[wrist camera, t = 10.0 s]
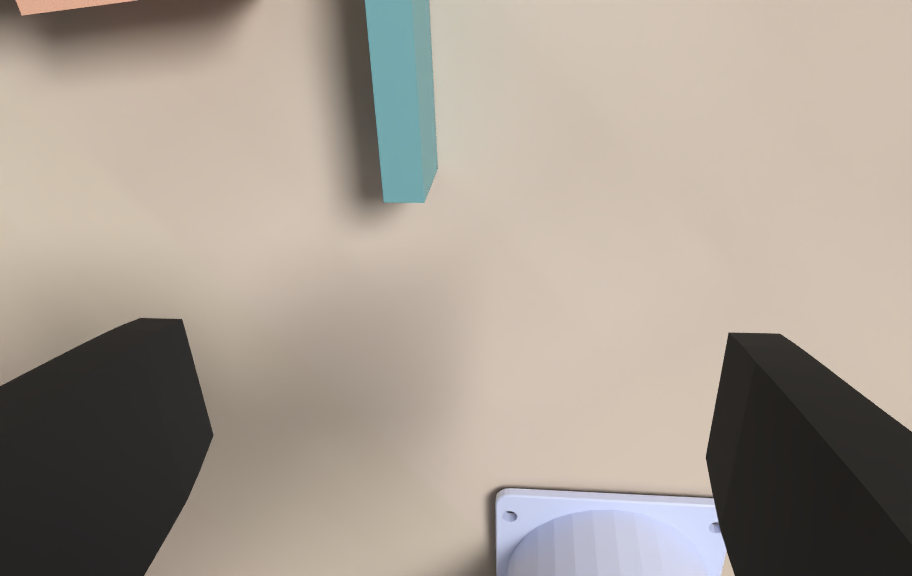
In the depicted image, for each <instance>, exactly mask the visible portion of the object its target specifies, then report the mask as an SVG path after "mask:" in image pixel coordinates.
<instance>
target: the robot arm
mask: <svg viewBox="0 0 912 576" xmlns="http://www.w3.org/2000/svg"><path fill="white" fill-rule="evenodd" d="M212 438H213V432H212V428H211V424H210V421H209V417H208V413H207V410H206V406H205V402H204V398H203V395H202V391H201V387H200V384H199V380H198V376H197V373H196V369H195V365H194V361H193V358H192V354H191V350H190V347H189V343H188V339H187V335H186V332H185V328H184V324H183V321H182V319H155V318H139V319H137V320H134V321H132V322H129V323H127V324H124V325H122V326H119V327H117V328H115V329H113V330H110V331H108V332H106V333H104V334H102V335H100V336H98V337H96V338H94V339H92V340H90V341H88V342H86V343H84V344H82V345H80V346H78V347H76V348H74V349H72V350H70V351H68V352H66V353H64V354H62V355H60V356H58V357H56V358H54V359H52V360H50V361H48V362H46V363H44V364H42V365H40V366H39V367H37V368H35V369H33V370H31V371H29V372H27V373H25V374H23V375H21V376H19V377H17V378H15V379H13V380H11V381H9V382H7V383H6V384H4V385H2V386H0V576H144V575H145V573H146V571H147V570H148V568H149V566H150V564H151V563H152V561H153V559H154V558H155V556H156V554H157V552H158V551H159V549H160V547H161V545H162V544H163V542H164V540H165V538H166V537H167V535H168V533H169V531H170V530H171V528H172V526H173V524H174V523H175V521H176V519H177V517H178V516H179V514H180V512H181V510H182V508H183V507H184V505H185V503H186V501H187V499H188V497H189V495H190V492H191V490H192V488H193V485H194V483H195V481H196V478H197V476H198V474H199V471H200V469H201V466H202V464H203V461H204V458H205V456H206V453H207V451H208V448H209V446H210V443H211V440H212ZM706 461H707V466H708V472H709V477H710V482H711V488H712V493H713V498H696V497H676V496H656V495H636V494H616V493H596V492H576V491H556V490H536V489H516V488H507V489H503V490H501V491H499V492H498V493H497V496H496V504H495V506H496V576H721V573H722V568H723V564H724V559H725V555H726V550H727V553H728V556H729V559H730V562H731V565H732V568H733V571H734V574H735V576H912V432H911V431H910V430H909V429H907V428H906V427H905V426H903V425H902V424H901V423H899V422H898V421H896V420H895V419H894V418H892V417H891V416H890V415H888V414H887V413H886V412H884V411H883V410H882V409H880V408H879V407H878V406H876V405H875V404H874V403H872V402H871V401H870V400H868V399H867V398H866V397H864V396H863V395H862V394H861V393H859V392H858V391H857V390H855V389H854V388H853V387H851V386H850V385H849V384H847V383H846V382H845V381H844V380H842V379H841V378H840V377H838V376H837V375H836V374H834V373H833V372H832V371H830V370H829V369H828V368H827V367H825V366H824V365H823V364H821V363H820V362H819V361H817V360H816V359H815V358H813V357H812V356H811V355H809V354H808V353H807V352H805V351H804V350H803V349H801V348H800V347H799V346H797V345H796V344H794V343H793V342H792V341H790V340H788V339H787V338H785V337H784V336H782V335H781V334H767V333H729V334H728V339H727V345H726V350H725V356H724V361H723V366H722V372H721V377H720V383H719V388H718V393H717V399H716V404H715V410H714V415H713V421H712V426H711V431H710V437H709V442H708V448H707V453H706ZM506 511H512V512H514V513H507V512H506ZM715 522H719V523H717V524H712V523H715Z"/></svg>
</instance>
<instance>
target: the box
mask: <svg viewBox="0 0 912 576" xmlns="http://www.w3.org/2000/svg"><path fill="white" fill-rule="evenodd" d="M365 9H366V19H367V30H368V41H369V51H370V62H371V72H372V83H373V94H374V104H375V115H376V126H377V136H378V147H379V158H380V168H381V179H382V190H383V200H384V203H425V200H426V197H427V195H428V192H429V190H430V187H431V184H432V182H433V179H434V177H435V174H436V172H437V169H438V165H437V146H436V126H435V107H434V88H433V69H432V49H431V30H430V11H429V0H365Z"/></svg>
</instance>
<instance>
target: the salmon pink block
mask: <svg viewBox="0 0 912 576" xmlns="http://www.w3.org/2000/svg"><path fill="white" fill-rule="evenodd" d="M128 1H136V0H16V2H17V5H18V7H19V10H20V12H21V15H29V14H37V13H45V12H52V11H60V10H68V9H75V8H83V7H90V6H98V5H106V4H113V3H121V2H128Z"/></svg>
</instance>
